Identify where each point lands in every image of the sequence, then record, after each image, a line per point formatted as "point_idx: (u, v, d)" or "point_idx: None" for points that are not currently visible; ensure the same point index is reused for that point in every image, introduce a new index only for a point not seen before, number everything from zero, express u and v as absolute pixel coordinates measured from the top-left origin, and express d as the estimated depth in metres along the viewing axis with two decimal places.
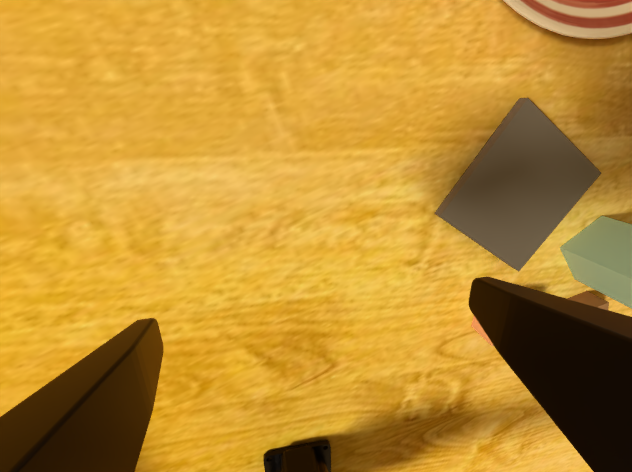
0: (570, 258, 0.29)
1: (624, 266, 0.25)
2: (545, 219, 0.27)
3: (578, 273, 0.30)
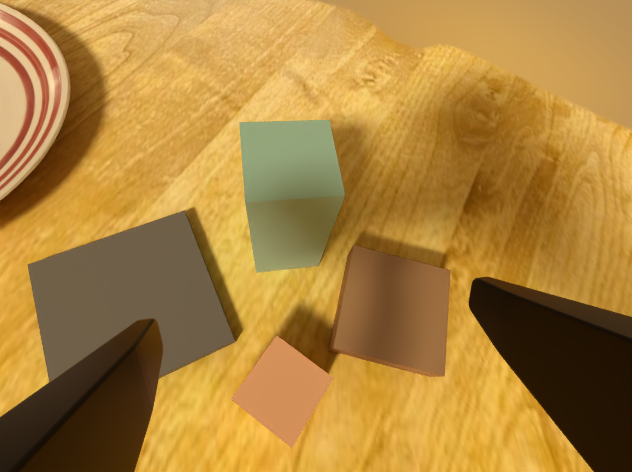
0: (270, 267, 0.23)
1: None
2: (188, 284, 0.21)
3: (299, 264, 0.23)
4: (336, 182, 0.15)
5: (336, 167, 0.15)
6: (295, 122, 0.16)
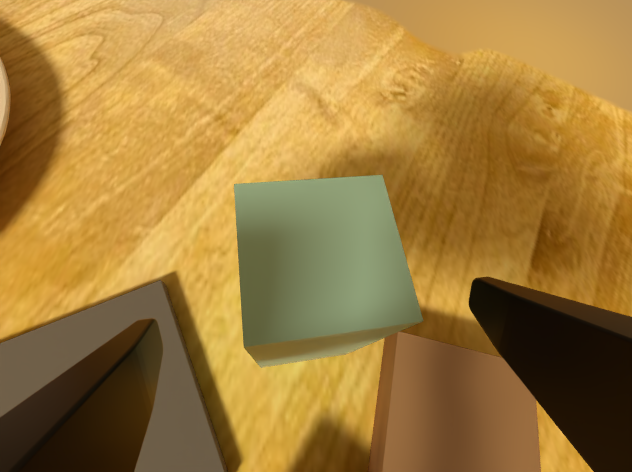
0: (281, 363, 0.16)
1: None
2: (162, 396, 0.15)
3: (321, 357, 0.16)
4: (405, 293, 0.08)
5: (401, 264, 0.09)
6: (327, 181, 0.10)
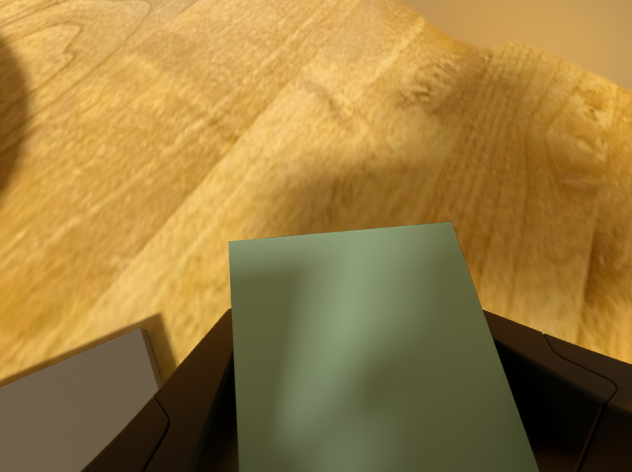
0: None
1: None
2: None
3: None
4: (507, 431, 0.05)
5: (497, 376, 0.06)
6: (371, 233, 0.06)
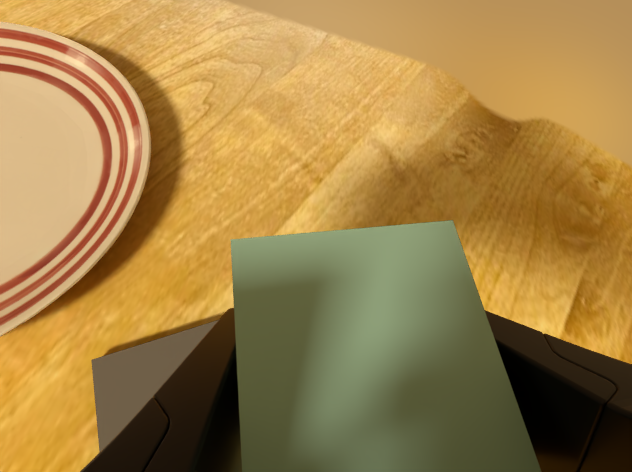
0: None
1: None
2: None
3: None
4: (509, 428, 0.05)
5: (498, 374, 0.06)
6: (373, 231, 0.06)
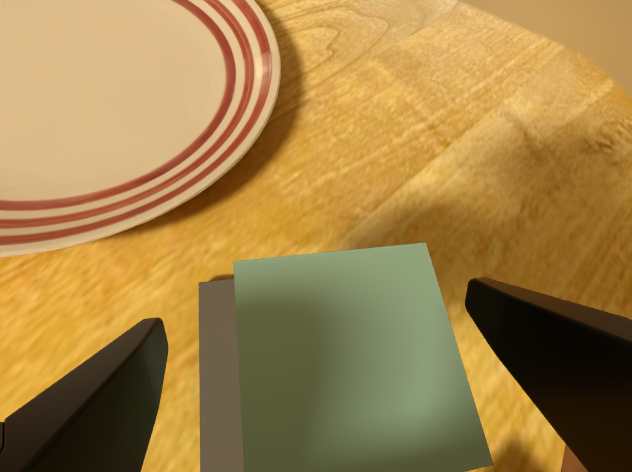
0: None
1: None
2: None
3: None
4: (465, 422, 0.06)
5: (458, 376, 0.07)
6: (356, 253, 0.07)
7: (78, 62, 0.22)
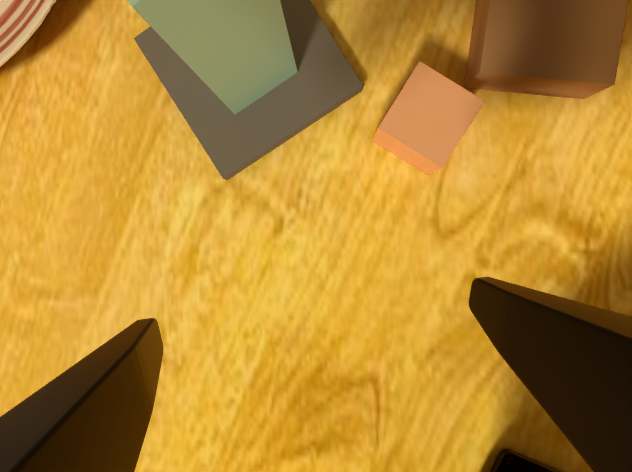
0: (246, 100, 0.19)
1: None
2: (300, 32, 0.19)
3: (274, 80, 0.18)
4: None
5: None
6: None
7: None
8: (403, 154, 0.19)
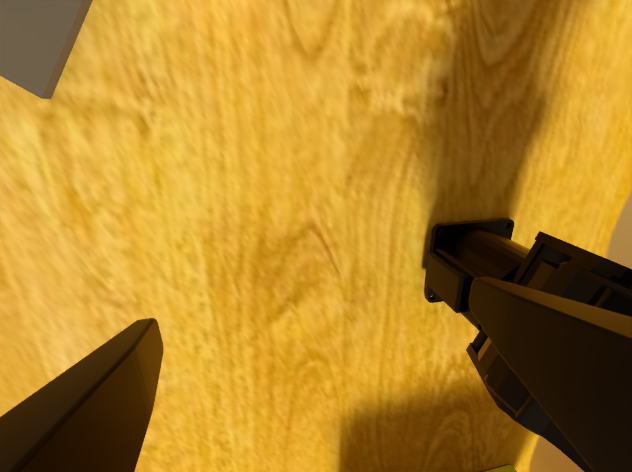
0: None
1: None
2: None
3: None
4: None
5: None
6: None
7: None
8: None
